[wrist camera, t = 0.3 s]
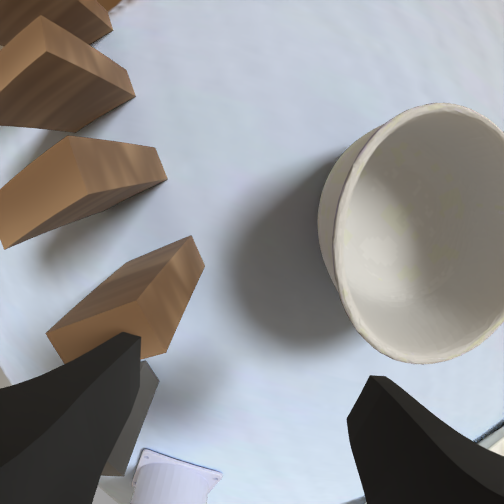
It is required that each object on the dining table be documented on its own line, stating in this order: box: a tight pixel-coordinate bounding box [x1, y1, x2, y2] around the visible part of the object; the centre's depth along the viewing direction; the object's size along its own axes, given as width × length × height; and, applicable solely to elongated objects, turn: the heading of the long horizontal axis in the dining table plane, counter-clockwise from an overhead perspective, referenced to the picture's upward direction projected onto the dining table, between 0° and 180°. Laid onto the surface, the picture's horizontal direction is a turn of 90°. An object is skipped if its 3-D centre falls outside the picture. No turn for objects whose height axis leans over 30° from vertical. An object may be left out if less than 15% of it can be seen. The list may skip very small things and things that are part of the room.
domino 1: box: [0, 0, 113, 46], centre depth 9 cm, size 2×5×9 cm, turn 111°
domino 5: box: [101, 361, 159, 476], centre depth 16 cm, size 2×5×9 cm, turn 111°
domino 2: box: [0, 15, 136, 133], centre depth 11 cm, size 2×5×9 cm, turn 111°
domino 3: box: [0, 136, 167, 250], centre depth 12 cm, size 2×5×9 cm, turn 111°
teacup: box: [317, 103, 504, 364], centre depth 13 cm, size 14×11×8 cm
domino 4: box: [46, 235, 205, 364], centre depth 14 cm, size 2×5×9 cm, turn 111°
